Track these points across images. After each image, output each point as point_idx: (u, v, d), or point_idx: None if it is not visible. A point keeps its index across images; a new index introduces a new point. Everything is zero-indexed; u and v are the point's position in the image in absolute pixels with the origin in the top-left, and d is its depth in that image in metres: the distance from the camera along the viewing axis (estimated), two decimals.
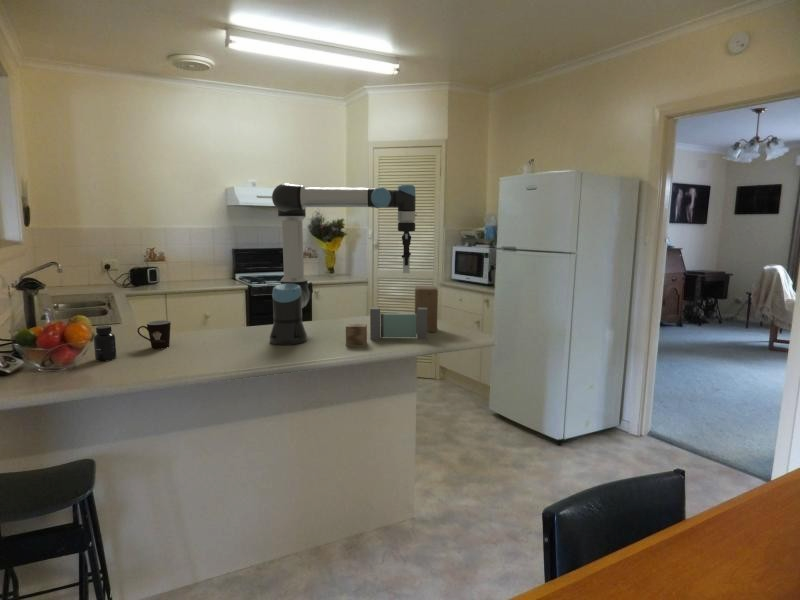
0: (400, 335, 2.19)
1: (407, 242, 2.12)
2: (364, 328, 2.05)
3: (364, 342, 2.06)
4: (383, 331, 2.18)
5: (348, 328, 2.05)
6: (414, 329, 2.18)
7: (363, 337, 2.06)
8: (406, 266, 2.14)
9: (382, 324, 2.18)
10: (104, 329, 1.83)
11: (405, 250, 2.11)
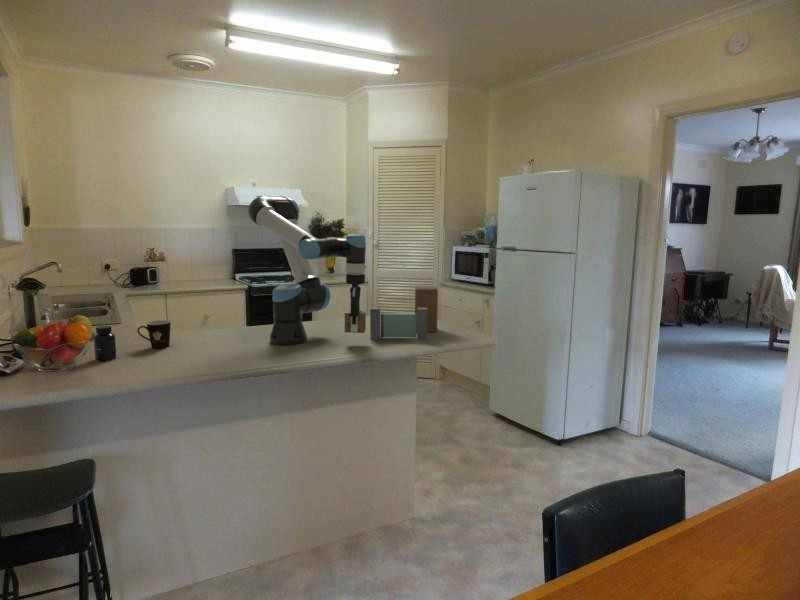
0: (400, 335, 2.19)
1: (354, 301, 2.00)
2: (363, 315, 2.05)
3: (363, 329, 2.06)
4: (383, 331, 2.18)
5: (347, 314, 2.05)
6: (414, 329, 2.18)
7: (362, 324, 2.05)
8: (354, 325, 2.05)
9: (382, 324, 2.18)
10: (104, 329, 1.83)
11: (352, 310, 2.01)
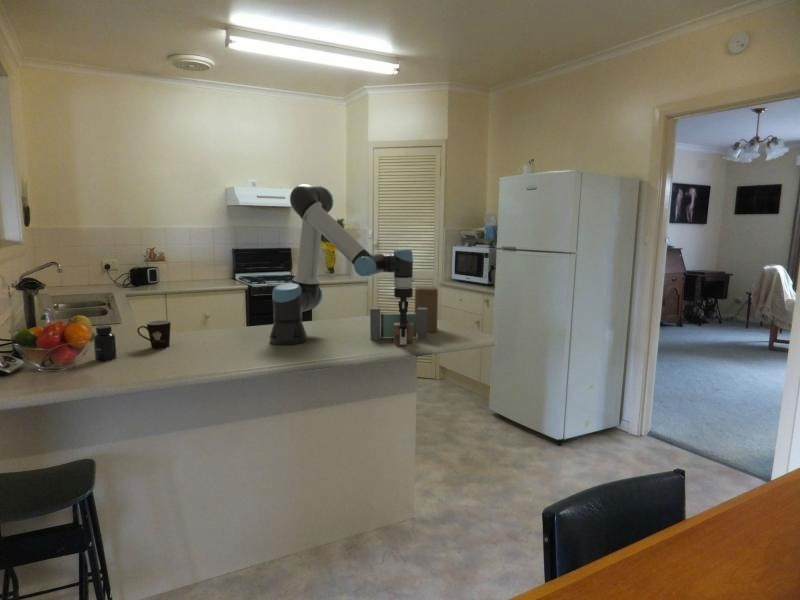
0: None
1: (404, 313, 2.02)
2: (412, 327, 2.08)
3: (411, 340, 2.09)
4: (383, 331, 2.18)
5: (396, 327, 2.08)
6: (414, 329, 2.19)
7: (411, 336, 2.08)
8: (403, 337, 2.05)
9: (382, 324, 2.18)
10: (104, 329, 1.83)
11: (402, 322, 2.02)
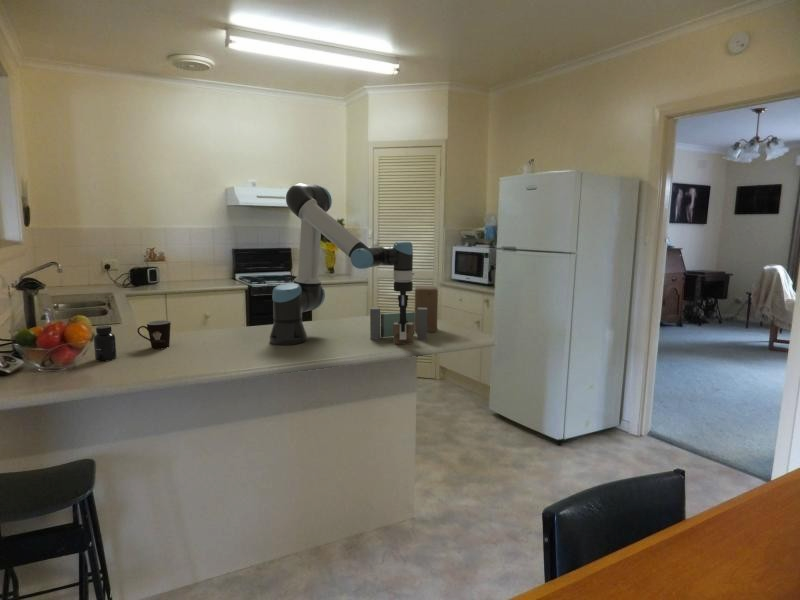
0: None
1: (404, 309, 2.00)
2: (412, 326, 2.08)
3: (411, 340, 2.09)
4: (383, 331, 2.19)
5: (396, 326, 2.08)
6: None
7: (410, 335, 2.08)
8: (403, 332, 2.05)
9: (382, 324, 2.18)
10: (104, 329, 1.83)
11: (401, 318, 2.01)
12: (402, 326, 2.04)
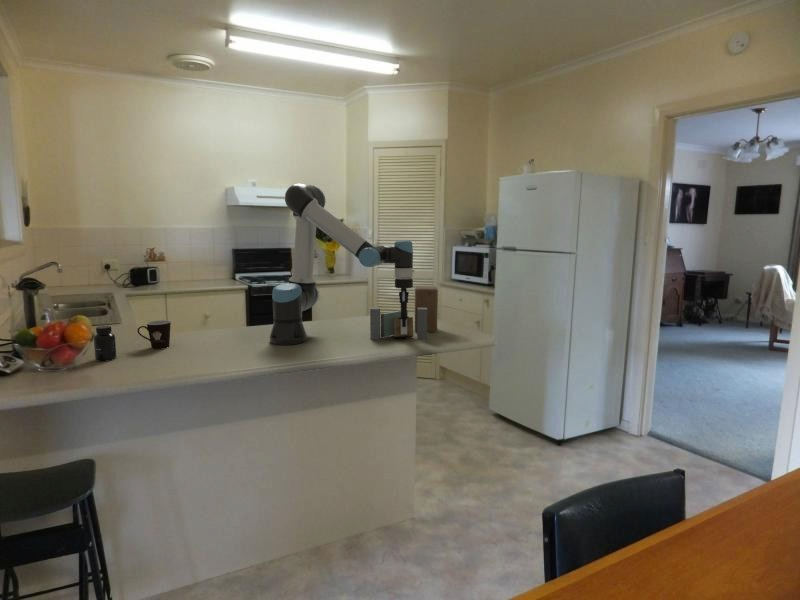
0: None
1: (404, 305, 2.08)
2: (411, 318, 2.17)
3: (412, 332, 2.16)
4: (384, 331, 2.19)
5: (396, 319, 2.17)
6: None
7: (411, 327, 2.17)
8: (404, 327, 2.14)
9: (383, 324, 2.18)
10: (104, 329, 1.83)
11: (402, 313, 2.10)
12: (403, 321, 2.13)
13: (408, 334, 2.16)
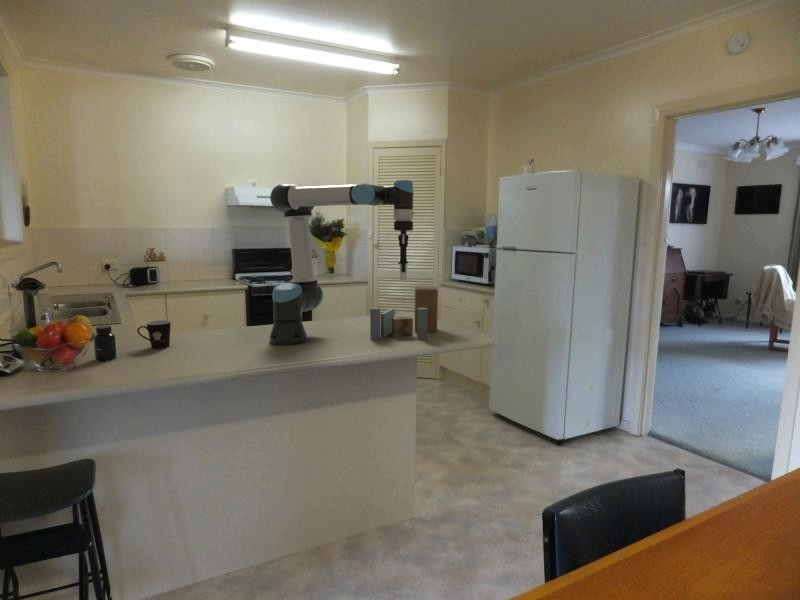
0: (389, 331, 2.26)
1: (404, 248, 1.98)
2: (411, 320, 2.22)
3: (411, 333, 2.22)
4: (384, 331, 2.19)
5: (397, 321, 2.20)
6: None
7: (410, 328, 2.22)
8: (403, 273, 2.04)
9: (383, 324, 2.18)
10: (104, 329, 1.83)
11: (402, 257, 2.00)
12: (402, 266, 2.02)
13: (408, 335, 2.22)
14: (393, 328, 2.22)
